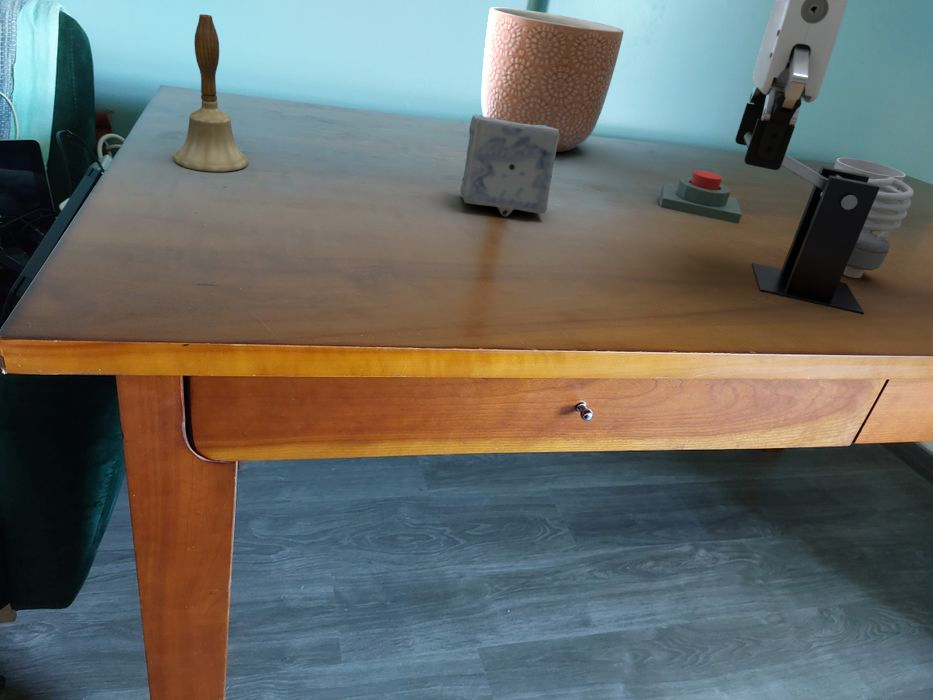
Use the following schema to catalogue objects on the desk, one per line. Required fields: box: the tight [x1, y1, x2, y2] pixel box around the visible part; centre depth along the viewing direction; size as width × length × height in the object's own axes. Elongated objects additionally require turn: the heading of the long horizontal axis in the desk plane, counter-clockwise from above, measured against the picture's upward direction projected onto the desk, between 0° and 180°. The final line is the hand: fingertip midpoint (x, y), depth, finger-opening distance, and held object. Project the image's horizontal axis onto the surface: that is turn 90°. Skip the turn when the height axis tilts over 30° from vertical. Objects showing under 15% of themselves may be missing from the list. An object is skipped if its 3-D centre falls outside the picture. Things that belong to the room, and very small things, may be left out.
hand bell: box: [173, 13, 249, 173], centre depth 83 cm, size 8×8×16 cm
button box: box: [658, 176, 742, 224], centre depth 97 cm, size 10×8×4 cm
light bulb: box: [842, 177, 915, 279], centre depth 80 cm, size 6×6×12 cm
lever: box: [744, 130, 842, 196], centre depth 71 cm, size 12×5×2 cm, turn 76°
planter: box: [481, 6, 624, 153], centre depth 116 cm, size 21×21×19 cm
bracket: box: [751, 165, 880, 315], centre depth 73 cm, size 10×8×13 cm
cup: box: [833, 157, 907, 234], centre depth 94 cm, size 8×8×10 cm
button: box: [691, 170, 723, 190], centre depth 96 cm, size 4×4×2 cm
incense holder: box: [459, 114, 559, 217], centre depth 85 cm, size 10×8×10 cm
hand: (755, 155), depth 71 cm, fingers open, 9 cm apart
